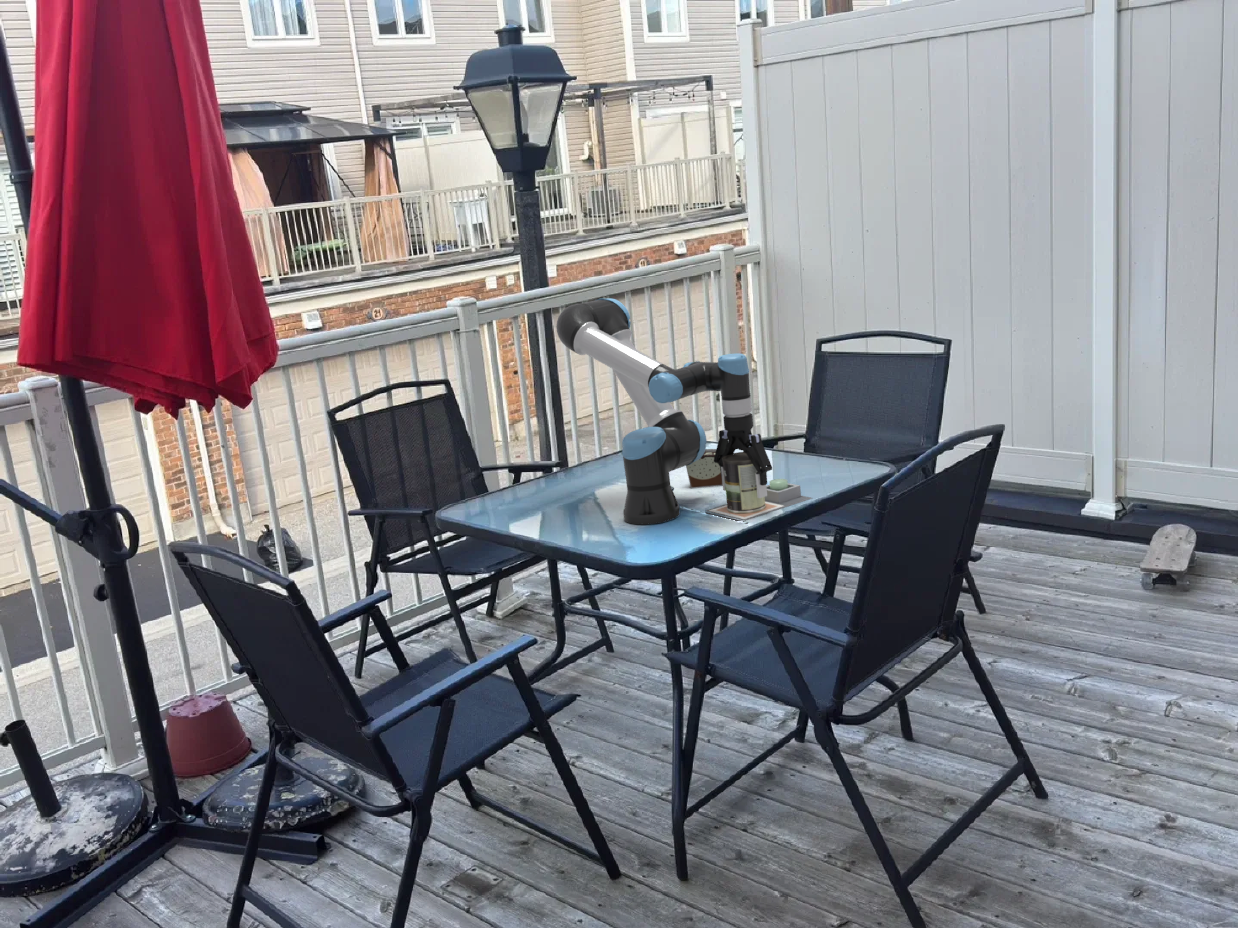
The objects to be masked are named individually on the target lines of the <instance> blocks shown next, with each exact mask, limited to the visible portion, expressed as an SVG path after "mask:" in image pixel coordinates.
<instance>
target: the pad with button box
mask: <svg viewBox="0 0 1238 928" xmlns="http://www.w3.org/2000/svg"><path fill="white" fill-rule="evenodd" d="M766 486H767V496H765V505H766V507H765V508H764V509H763V510H760V511H757V512H753V513H742V514H740V513H732V512H729V511H728V510H727V503H726V504H723V505H720V506H716V507H714V508H711V509H709V508H708V509H707V510H705V514H706V515H709V516H713V515H714V516H713V517H717V516H718V518H721V517H722V518H721V519H725V518H726V519H725V520H729V519H731V520H730V521H733V520H735V521H734V522H737V521H743V522H747V521H749V520H752V519H755V518H758V517H761V516H764V515H768V514H770V513H773V512H777V511H779V510H782V509H785V508H788V507H791V506H793V505H794V506H795V505H796V504H800V503H802V502H807V501H808V500H812V499H813V497H809V496H804V495H802V494H801V493H802V491H801V485H799V484H793V483H789V482H788V488H787V489H784V490H780V491H775V490H770V484H766Z"/></svg>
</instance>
